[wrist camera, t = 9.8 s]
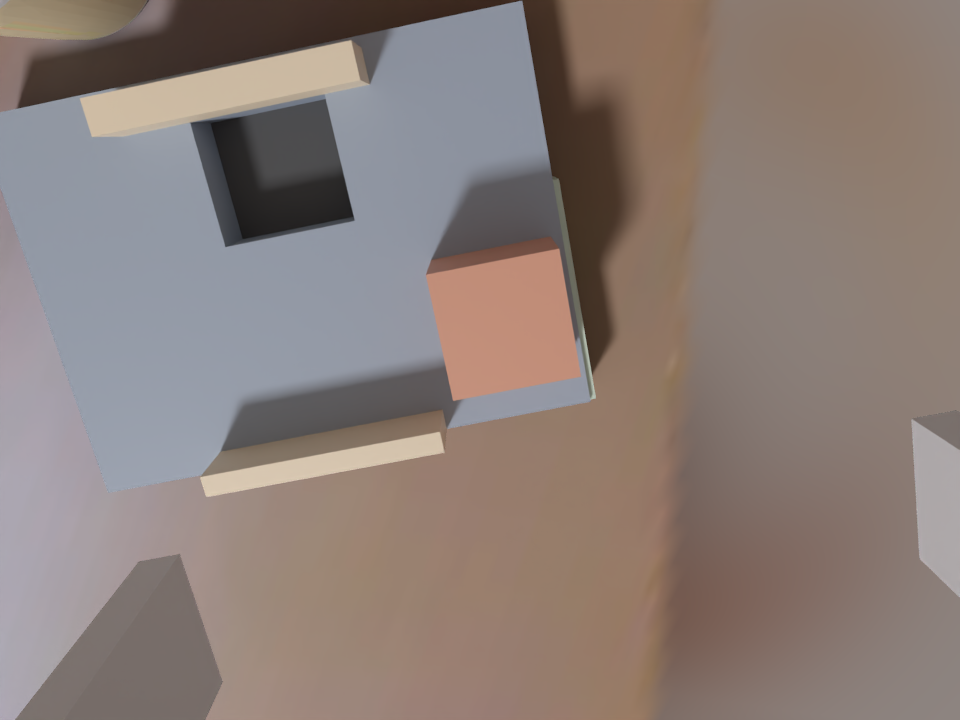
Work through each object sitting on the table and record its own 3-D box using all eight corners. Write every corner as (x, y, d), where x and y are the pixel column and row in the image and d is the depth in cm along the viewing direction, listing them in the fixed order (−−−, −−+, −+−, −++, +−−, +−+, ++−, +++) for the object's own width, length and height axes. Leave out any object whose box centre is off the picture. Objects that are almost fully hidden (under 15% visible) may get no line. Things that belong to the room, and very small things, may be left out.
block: (431, 259, 37) (425, 275, 33) (550, 236, 36) (559, 248, 33) (455, 373, 38) (453, 400, 34) (570, 351, 38) (581, 376, 34)
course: (14, 118, 38) (-70, 116, 32) (525, 9, 37) (534, -14, 31) (133, 468, 43) (79, 520, 37) (588, 381, 41) (606, 422, 36)
